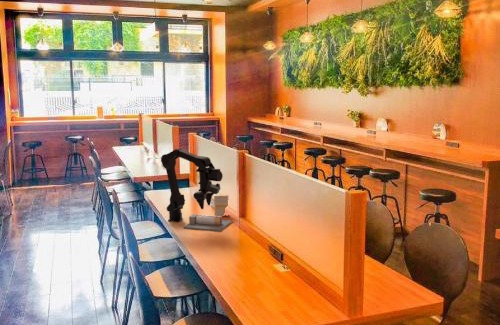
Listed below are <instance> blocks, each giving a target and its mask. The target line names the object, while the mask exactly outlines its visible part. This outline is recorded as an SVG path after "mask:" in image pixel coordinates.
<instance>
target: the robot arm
mask: <svg viewBox="0 0 500 325" xmlns="http://www.w3.org/2000/svg"><path fill="white" fill-rule="evenodd" d="M179 158H180V159H183V160H186V161H188V162H190V163H193V165H194V166H196V167H197V169H196V170H195V172H196V173H198V174H199V176H198V177H199V181H198V182H197V184H198V185H199V189H198V191H196V192H194V194H193V196H192V197H193V199H195V201H196V202H197V204H198V205H199V207H200V209H201V210H204V208H205V200H206V204H207V206H211V201H212V198H213V196H214V195H215V194H220V190H221V184H220V183H218V182H222V180H223V173H222V171H221V169H220V168H215V165H214V164H213V163H212V161H211V158H210V157H208V156H203V155H197V154H194V153H192V152H189V151H186V150H184V149H183V148H175V149H173V150H172V151H170V152H168V153H164V154H163V155H161V157H160V162H161V165H162V167H163V168H164V169H165V171H166V175H167V179H168V185H169V190H170V198H169V204H168V206H166V212H168V216H169V217H168V218H169V219H168V222H172V223H173V222H174V223H175V222H176V223H178V222H180V221H182V220H183V219H184V218H183V213H182V210H183V209H184V207H185V206H184V205H185V203H186V199H185V195H184V194H182V193H181V192H180V189H179V183H178V178H177V173H176V166H177V159H179ZM213 182H217V183H216V184H213Z"/></svg>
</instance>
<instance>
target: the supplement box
mask: <svg viewBox="0 0 500 325" xmlns="http://www.w3.org/2000/svg"><path fill="white" fill-rule="evenodd" d="M227 194H228V193H217V194H213V203H214V204H213V205H214V216H223V215H224V213H225V208H226V207H227V206H228V200H229V194H228V195H227Z"/></svg>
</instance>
